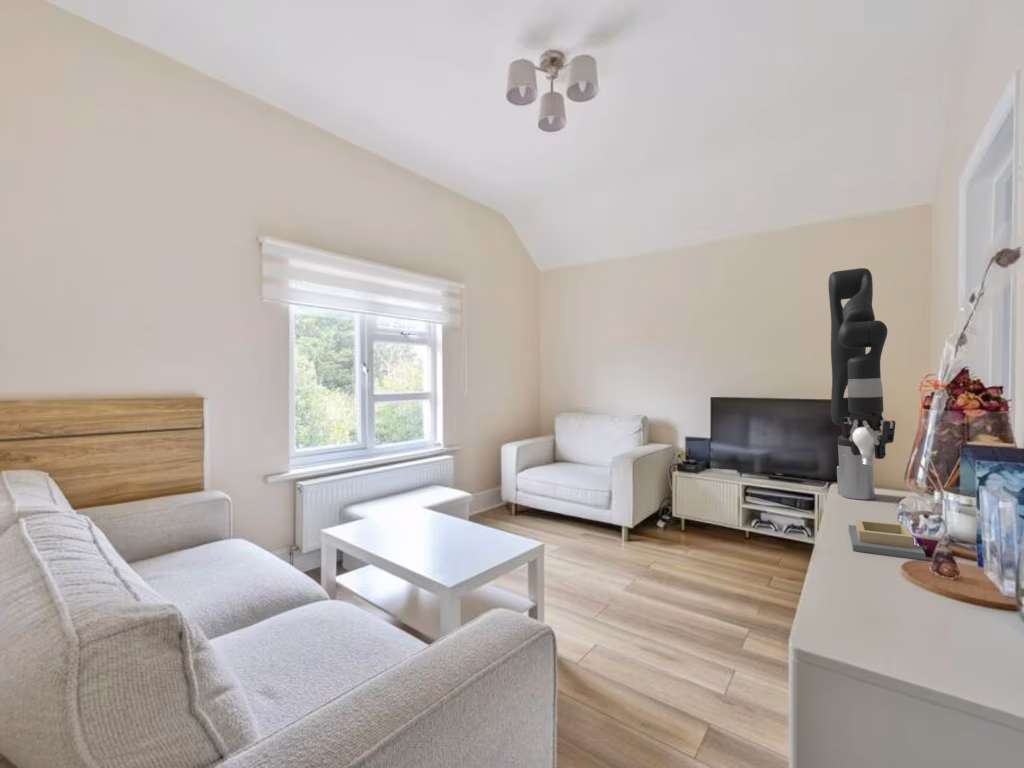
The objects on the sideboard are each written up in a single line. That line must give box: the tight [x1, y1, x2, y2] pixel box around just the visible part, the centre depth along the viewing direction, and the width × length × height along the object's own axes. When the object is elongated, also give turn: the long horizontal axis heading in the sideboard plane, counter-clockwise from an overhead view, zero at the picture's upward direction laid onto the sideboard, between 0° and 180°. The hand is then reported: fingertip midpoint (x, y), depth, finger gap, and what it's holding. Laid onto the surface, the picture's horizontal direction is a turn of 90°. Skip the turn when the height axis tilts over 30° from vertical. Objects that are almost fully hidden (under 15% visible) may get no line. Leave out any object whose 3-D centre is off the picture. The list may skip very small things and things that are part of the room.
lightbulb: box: [852, 427, 880, 466], centre depth 123 cm, size 6×6×11 cm
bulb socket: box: [847, 519, 927, 561], centre depth 111 cm, size 16×13×4 cm
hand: (867, 456), depth 123 cm, fingers closed on lightbulb, 6 cm apart
